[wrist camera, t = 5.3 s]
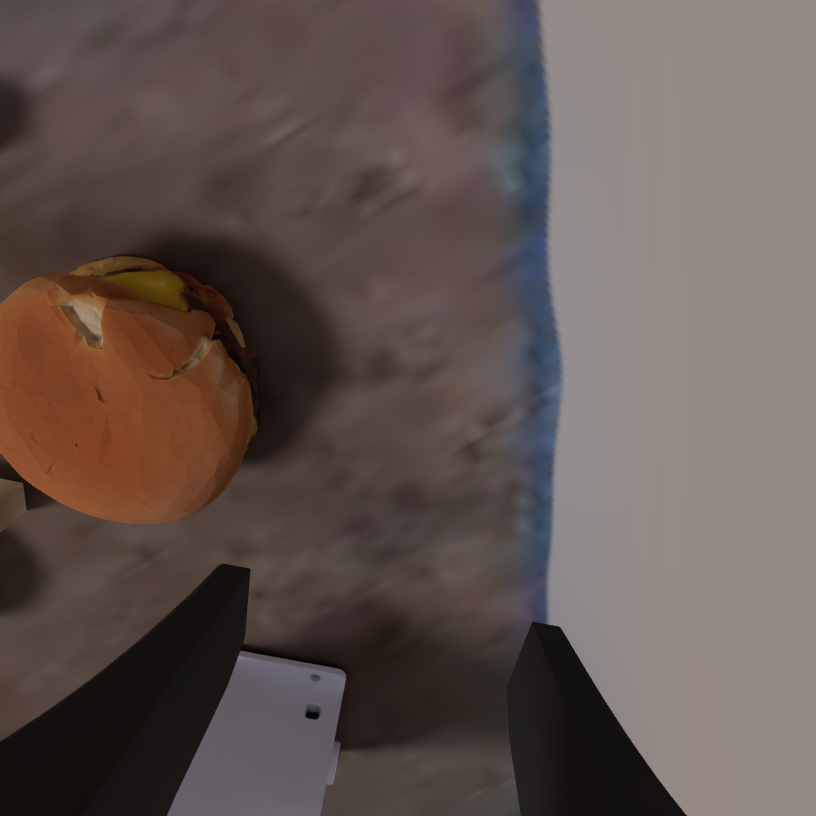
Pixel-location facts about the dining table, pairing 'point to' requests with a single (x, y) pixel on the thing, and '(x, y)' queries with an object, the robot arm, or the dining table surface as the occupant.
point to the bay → (11, 502)
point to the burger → (125, 390)
